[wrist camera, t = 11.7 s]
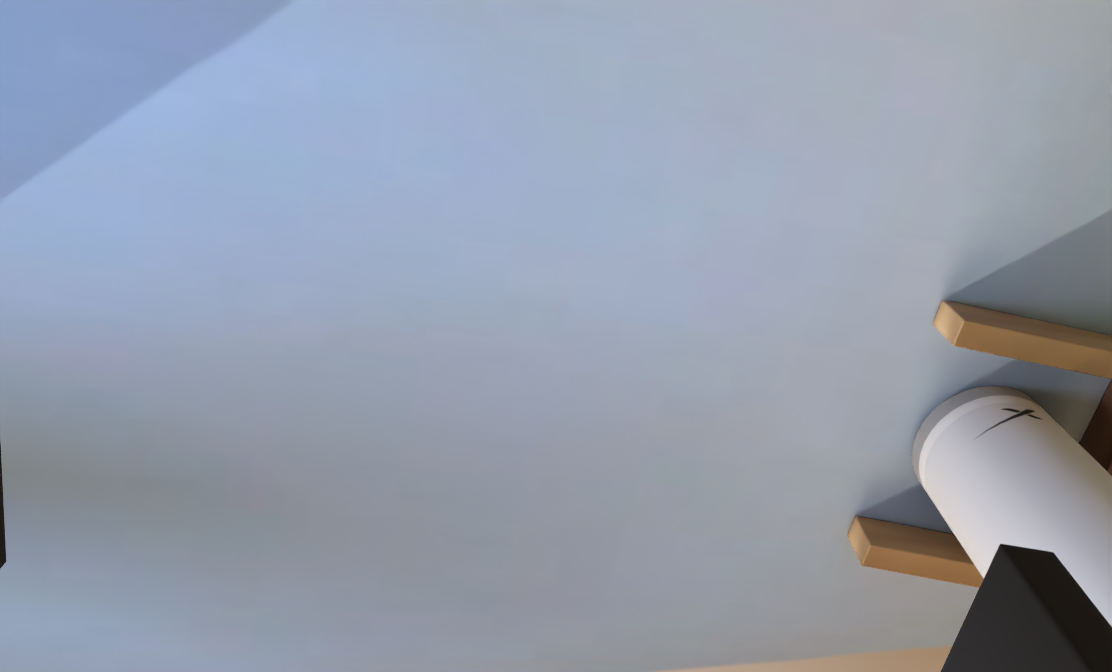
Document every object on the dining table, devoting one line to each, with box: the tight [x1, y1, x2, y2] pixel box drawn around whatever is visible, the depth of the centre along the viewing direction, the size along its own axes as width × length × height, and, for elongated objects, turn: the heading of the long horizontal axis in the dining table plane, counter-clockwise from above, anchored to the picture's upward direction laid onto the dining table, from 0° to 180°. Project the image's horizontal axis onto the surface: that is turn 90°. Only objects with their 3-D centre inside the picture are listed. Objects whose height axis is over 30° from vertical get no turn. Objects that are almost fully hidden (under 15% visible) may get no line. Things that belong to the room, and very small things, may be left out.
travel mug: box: [912, 386, 1112, 627], centre depth 35 cm, size 6×7×20 cm
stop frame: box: [848, 300, 1112, 588], centre depth 43 cm, size 12×10×2 cm
